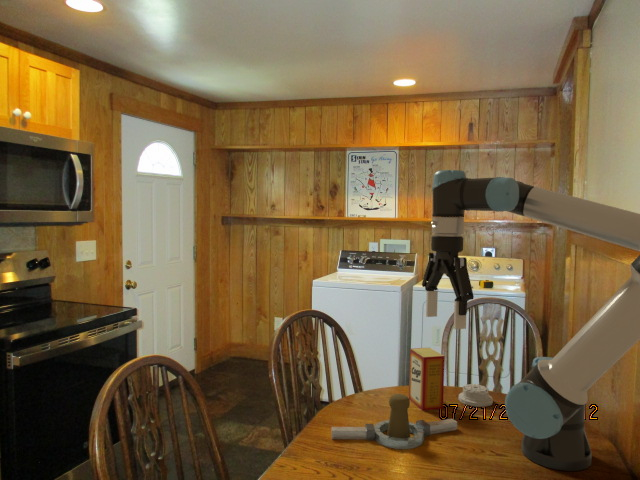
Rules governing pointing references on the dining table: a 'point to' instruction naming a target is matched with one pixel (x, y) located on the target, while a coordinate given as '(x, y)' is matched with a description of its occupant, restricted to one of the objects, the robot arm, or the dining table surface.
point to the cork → (399, 416)
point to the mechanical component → (475, 396)
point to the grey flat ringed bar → (375, 434)
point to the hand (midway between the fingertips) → (444, 322)
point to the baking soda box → (426, 378)
